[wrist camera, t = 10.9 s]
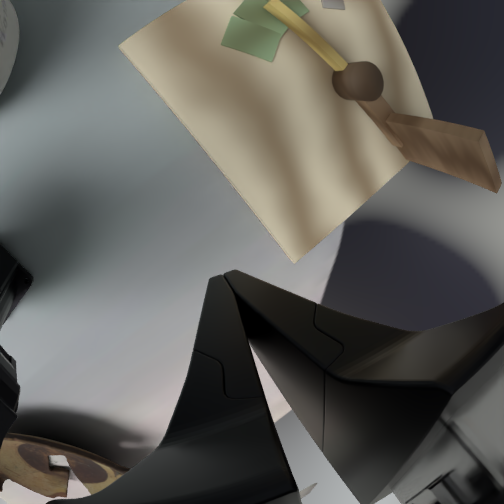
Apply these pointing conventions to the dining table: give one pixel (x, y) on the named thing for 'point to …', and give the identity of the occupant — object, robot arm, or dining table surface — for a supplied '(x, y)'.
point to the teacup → (7, 40)
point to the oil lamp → (54, 479)
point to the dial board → (282, 104)
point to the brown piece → (401, 125)
